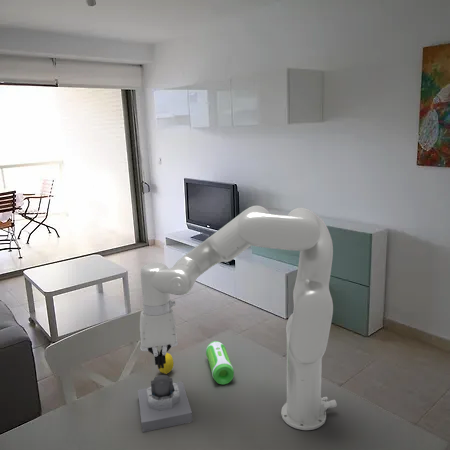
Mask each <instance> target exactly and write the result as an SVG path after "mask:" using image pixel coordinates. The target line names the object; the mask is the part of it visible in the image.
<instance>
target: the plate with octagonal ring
mask: <svg viewBox="0 0 450 450" xmlns="http://www.w3.org/2000/svg"><path fill="white" fill-rule="evenodd" d="M175 383H176V384H177V385H178V389H179V397H180V402H179V403H178V404H177V405H175V406H174V407H173V408H172V409H168V410H163V411H157V410H154V409H152V408H149V405H148V398H147V389H148V388H149V387H145V388H139V389H137V394H138V395H137V396H138V406H139V414H140V422H141V431H142V433H145V432H150V431H155V430H159V429H165V428H170V427H175V426H179V425H185V424H190V423H193V412H192V408H191V405H190V402H189V399H188V395H187V392H186V389H185V384H184V382H183V381H178V382H175ZM189 422H190V423H189ZM184 423H185V424H184Z"/></svg>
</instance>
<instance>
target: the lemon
mask: <svg viewBox="0 0 450 450" xmlns="http://www.w3.org/2000/svg"><path fill="white" fill-rule="evenodd" d="M165 358H166V363H165V364H164V368H160V369H158V371H159V372H160V373H162V374H164V375H167V374H169V373H170V372H171V371H172V370H173V369H174V364H175V361H174V358H173V356H172V354H171V353H168V352H167V353H166V355H165ZM156 366H157V367H158V365H156Z"/></svg>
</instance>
